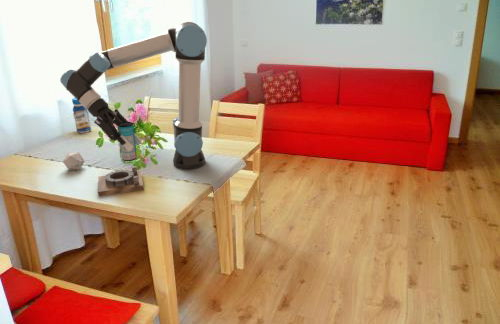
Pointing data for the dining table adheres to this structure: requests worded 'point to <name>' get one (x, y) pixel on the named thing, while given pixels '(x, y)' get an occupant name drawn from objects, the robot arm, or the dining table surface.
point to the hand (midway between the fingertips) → (135, 146)
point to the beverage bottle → (81, 117)
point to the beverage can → (128, 133)
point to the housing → (120, 182)
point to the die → (73, 161)
